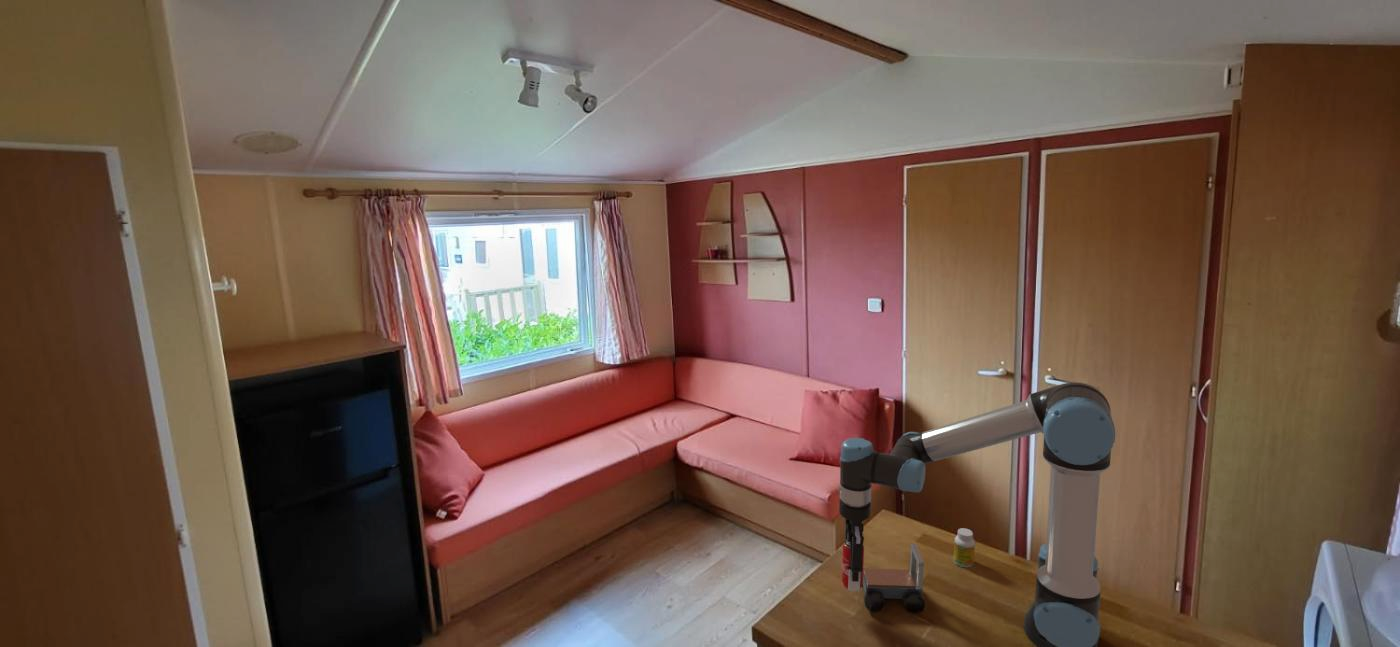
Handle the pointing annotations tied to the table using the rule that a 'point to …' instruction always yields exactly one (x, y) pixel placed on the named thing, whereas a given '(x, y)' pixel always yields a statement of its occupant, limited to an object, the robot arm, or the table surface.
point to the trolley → (895, 585)
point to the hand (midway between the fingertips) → (852, 582)
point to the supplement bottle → (964, 548)
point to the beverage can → (848, 564)
